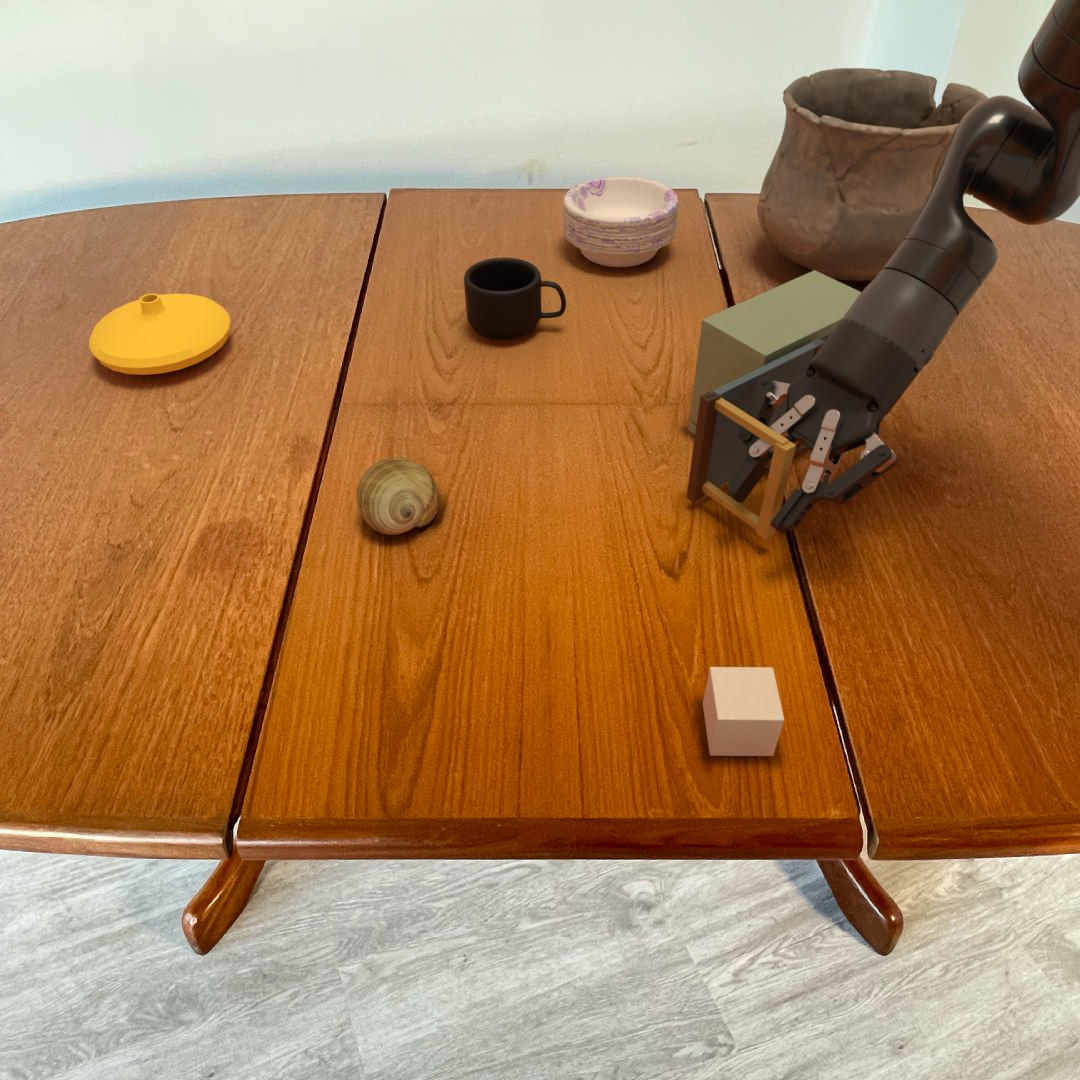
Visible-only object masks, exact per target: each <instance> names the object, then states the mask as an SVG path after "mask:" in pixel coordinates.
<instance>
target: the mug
mask: <svg viewBox="0 0 1080 1080" xmlns="http://www.w3.org/2000/svg"><path fill="white" fill-rule="evenodd" d="M542 287H548V288H552V289H555V291H556V292H557V294H558V295H559V299H560V309H559V310H558V311H551V312H544V311H542ZM463 288H464V299H465V300H464V301H465V312H466V319H467V322H468V323H469V326H470V327H471V329H472V330H473V331H474V332H475V333H476V334H477V335H479V336H480V337H482V338H485V339H489V340H493V341H513V340H519V339H521V338H525V337H526V336H528V335H530V334H531V333H532V332H534V330H536V328H537V326H538V325H539V323H540V321H541V320H542V319H555V318H558V317H561V316H563V315H564V313H565V311H566V310H567V309H566V308H567V299H566V295H565V292H564V290H563V288H562V287H561V286H560V284H558V283H557V282H555V281H553V280H542V275H541V272H540V270H539V268H538V267H537V266H535V264H533V263H531V262H529V261H527V260H525V259H520V258H516V257H492V258H488V259H484V260H481V261H478V262H476V263H474V264H473V265H471V266H470V267H468V269H466V271H465V273H464V275H463Z"/></svg>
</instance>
